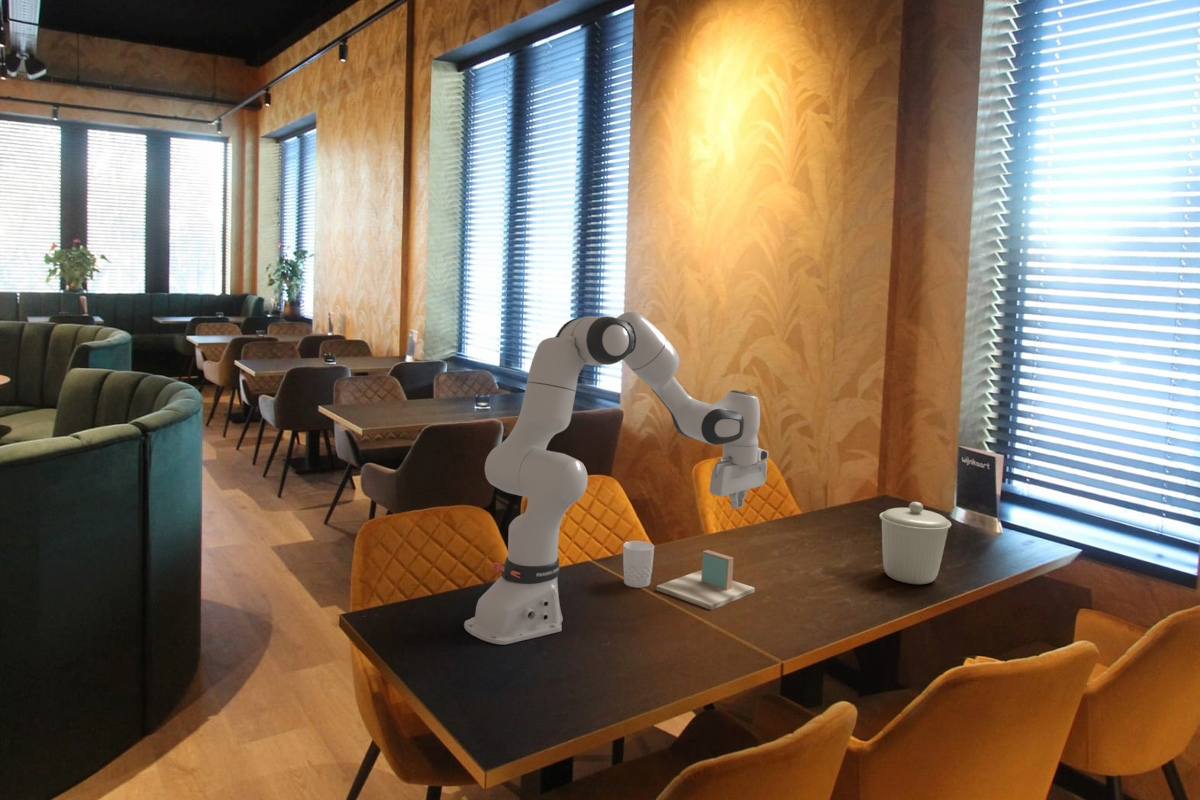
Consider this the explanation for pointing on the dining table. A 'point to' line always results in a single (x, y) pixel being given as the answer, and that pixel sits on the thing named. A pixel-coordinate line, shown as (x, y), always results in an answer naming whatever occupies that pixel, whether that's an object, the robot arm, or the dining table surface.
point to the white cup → (637, 563)
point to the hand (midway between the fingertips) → (737, 507)
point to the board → (703, 591)
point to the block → (717, 569)
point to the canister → (913, 543)
